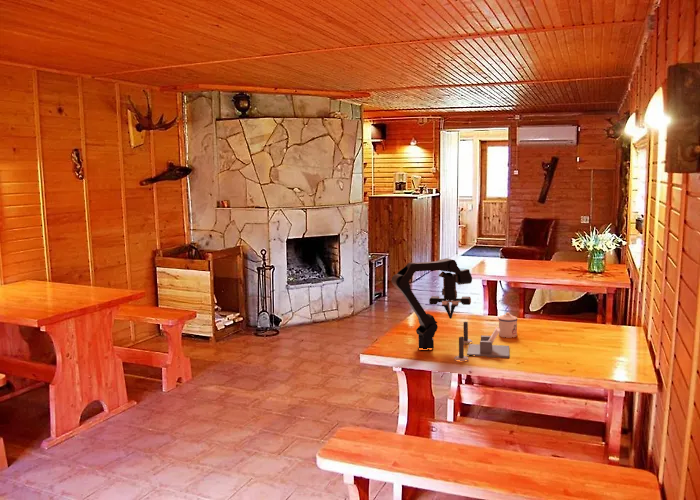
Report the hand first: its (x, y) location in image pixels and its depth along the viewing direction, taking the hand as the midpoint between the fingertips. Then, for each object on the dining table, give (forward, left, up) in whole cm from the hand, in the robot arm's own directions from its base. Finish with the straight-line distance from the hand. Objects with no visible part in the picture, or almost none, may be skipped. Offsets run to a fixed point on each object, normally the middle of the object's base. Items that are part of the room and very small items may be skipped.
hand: (450, 318), depth 270 cm
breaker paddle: (+15, -10, -12) cm, 21 cm away
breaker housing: (+15, -10, -13) cm, 22 cm away
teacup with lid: (+30, +19, -13) cm, 38 cm away
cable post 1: (+3, -22, -13) cm, 26 cm away
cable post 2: (+8, +6, -13) cm, 16 cm away
